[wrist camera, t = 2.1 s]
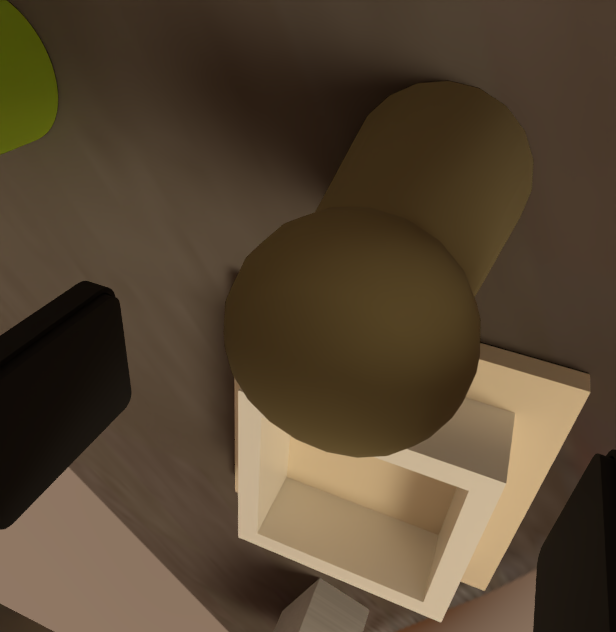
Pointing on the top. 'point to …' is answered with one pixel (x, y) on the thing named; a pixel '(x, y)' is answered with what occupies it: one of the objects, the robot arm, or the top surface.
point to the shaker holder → (412, 487)
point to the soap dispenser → (24, 82)
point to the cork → (383, 277)
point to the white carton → (322, 611)
